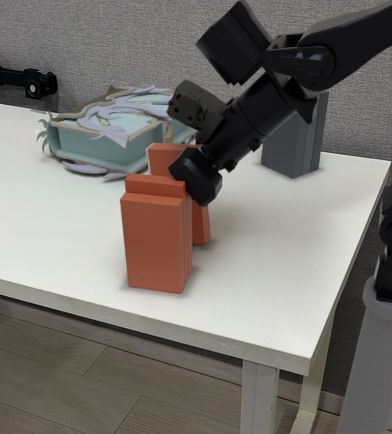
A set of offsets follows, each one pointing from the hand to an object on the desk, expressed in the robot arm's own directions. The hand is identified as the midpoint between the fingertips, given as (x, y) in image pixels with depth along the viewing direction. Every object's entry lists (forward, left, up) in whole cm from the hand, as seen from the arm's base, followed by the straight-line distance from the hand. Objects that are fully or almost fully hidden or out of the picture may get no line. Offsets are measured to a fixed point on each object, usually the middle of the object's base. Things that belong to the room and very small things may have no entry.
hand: (169, 192), depth 76 cm
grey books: (-13, -30, -7) cm, 34 cm away
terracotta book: (-2, 0, -7) cm, 7 cm away
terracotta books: (-1, +10, -7) cm, 12 cm away
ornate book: (+18, -31, -7) cm, 36 cm away
